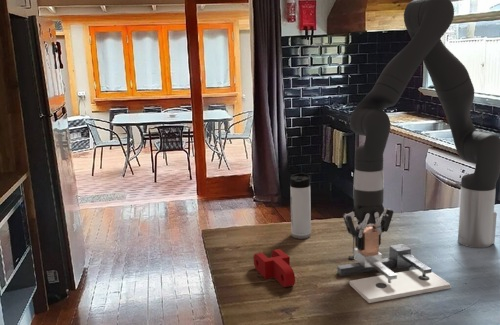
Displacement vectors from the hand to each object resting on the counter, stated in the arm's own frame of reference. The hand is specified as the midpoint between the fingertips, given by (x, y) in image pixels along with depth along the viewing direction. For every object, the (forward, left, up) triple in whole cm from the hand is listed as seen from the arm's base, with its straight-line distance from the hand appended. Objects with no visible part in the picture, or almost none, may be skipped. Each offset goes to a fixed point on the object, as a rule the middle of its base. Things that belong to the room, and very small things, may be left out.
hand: (367, 247), depth 130 cm
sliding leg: (0, +5, -5) cm, 7 cm away
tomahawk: (-6, -15, -7) cm, 18 cm away
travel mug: (+7, -30, -6) cm, 32 cm away
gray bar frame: (-3, +5, -6) cm, 9 cm away
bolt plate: (-3, +11, -6) cm, 13 cm away
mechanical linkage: (+24, -5, -7) cm, 25 cm away
